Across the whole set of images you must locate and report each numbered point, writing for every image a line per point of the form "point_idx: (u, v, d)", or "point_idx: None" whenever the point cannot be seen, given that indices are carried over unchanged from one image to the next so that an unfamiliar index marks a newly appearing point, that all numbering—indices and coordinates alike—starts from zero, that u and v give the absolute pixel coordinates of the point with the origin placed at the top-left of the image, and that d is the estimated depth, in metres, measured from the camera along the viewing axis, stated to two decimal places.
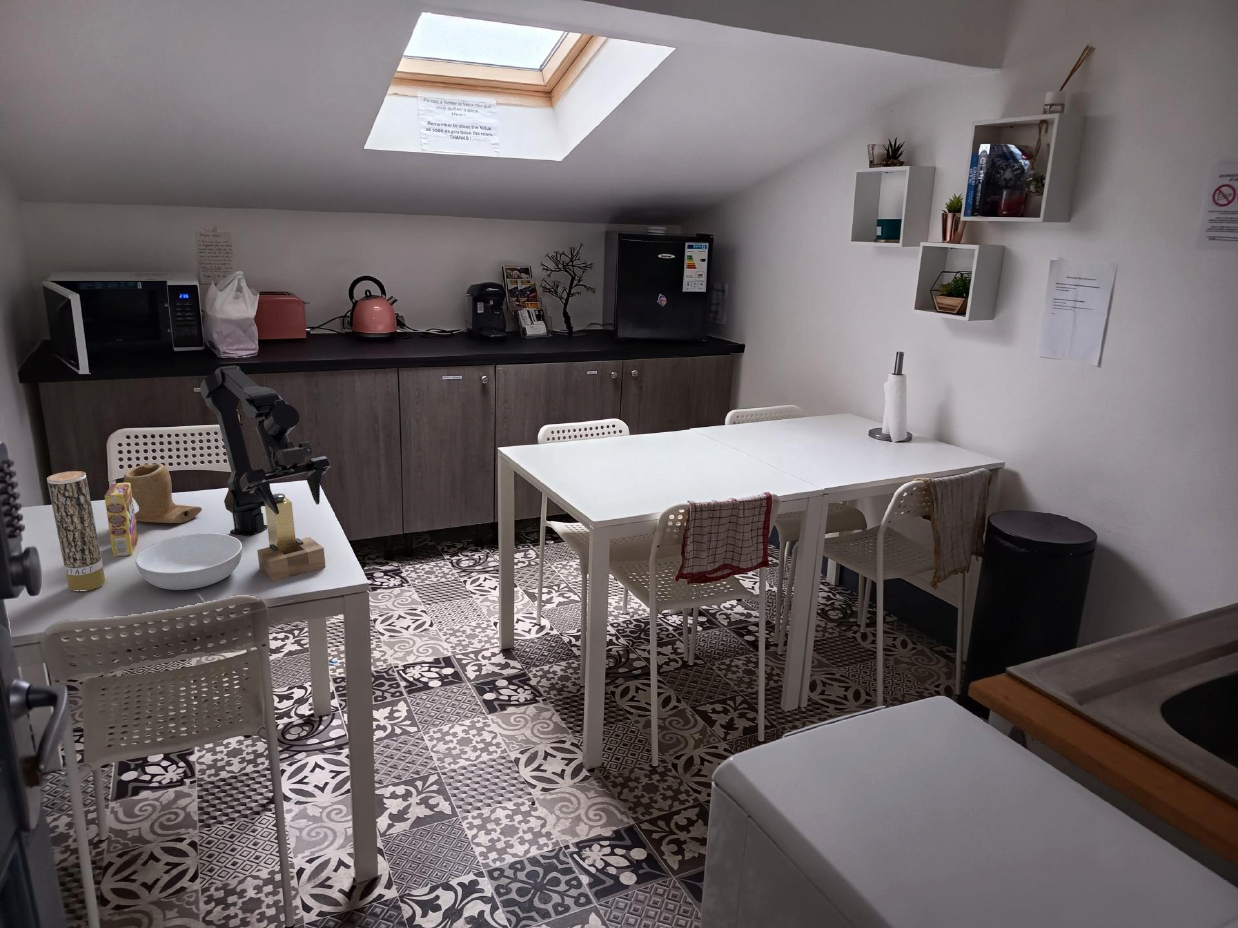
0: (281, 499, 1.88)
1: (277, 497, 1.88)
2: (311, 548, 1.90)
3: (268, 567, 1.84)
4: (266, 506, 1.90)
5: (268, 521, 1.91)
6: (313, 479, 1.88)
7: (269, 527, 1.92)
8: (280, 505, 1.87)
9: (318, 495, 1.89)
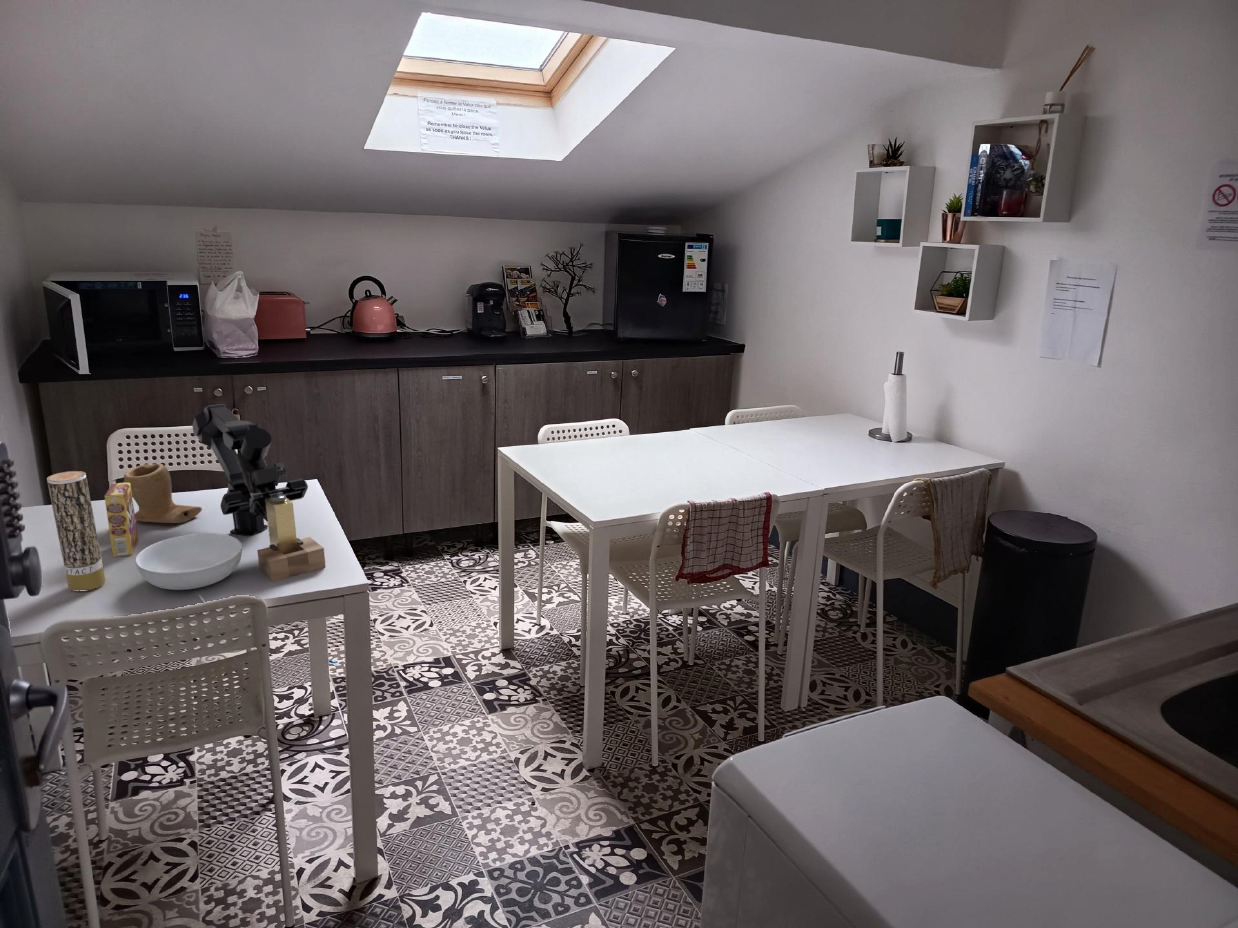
0: (282, 500, 1.88)
1: (278, 497, 1.88)
2: (311, 548, 1.90)
3: (268, 567, 1.84)
4: (267, 507, 1.90)
5: (269, 522, 1.91)
6: None
7: (270, 527, 1.91)
8: (281, 506, 1.87)
9: None
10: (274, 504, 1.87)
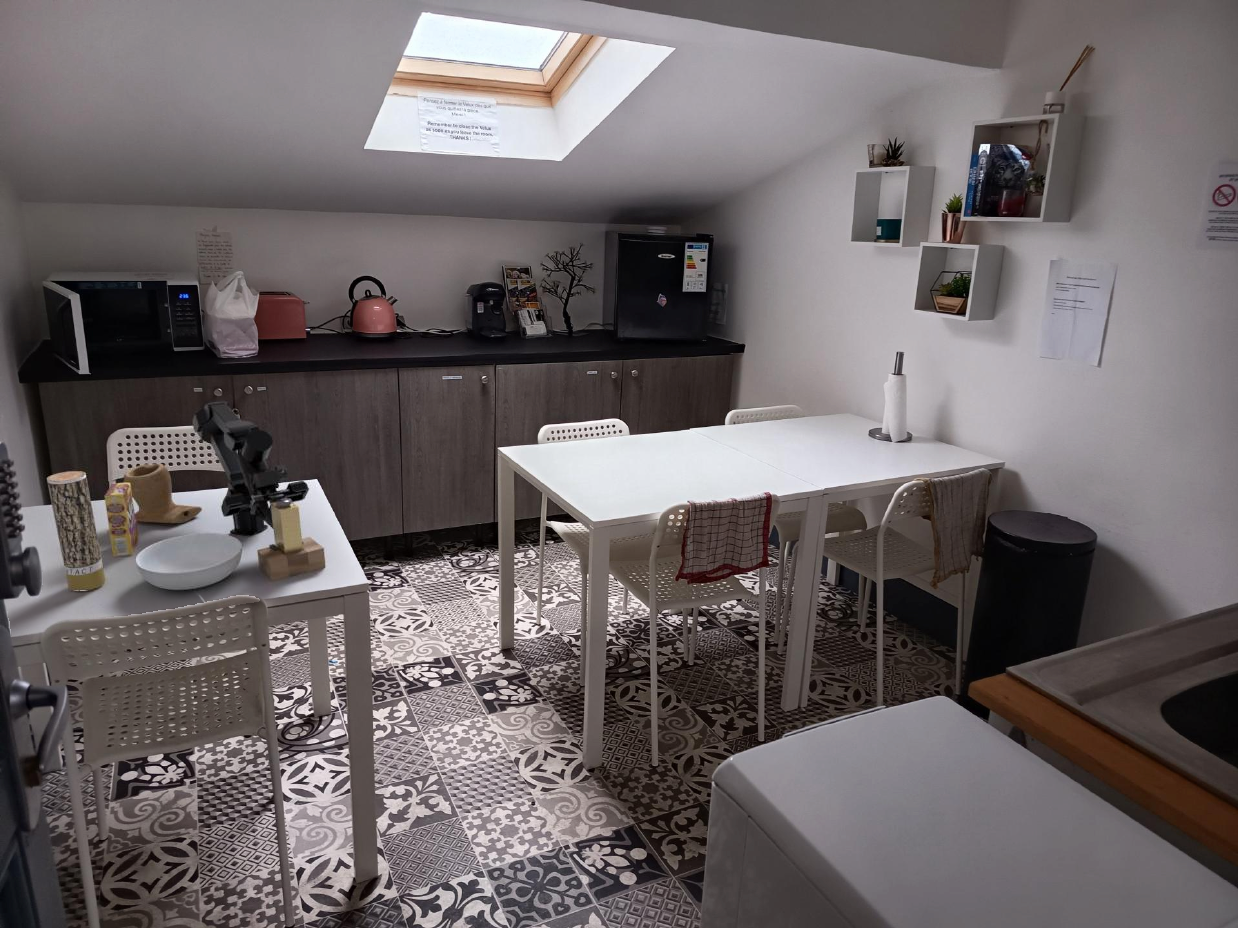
0: (288, 504, 1.86)
1: (284, 502, 1.86)
2: (311, 548, 1.90)
3: (268, 567, 1.84)
4: (272, 511, 1.87)
5: (274, 526, 1.88)
6: None
7: (275, 532, 1.89)
8: (287, 510, 1.84)
9: None
10: (280, 508, 1.84)
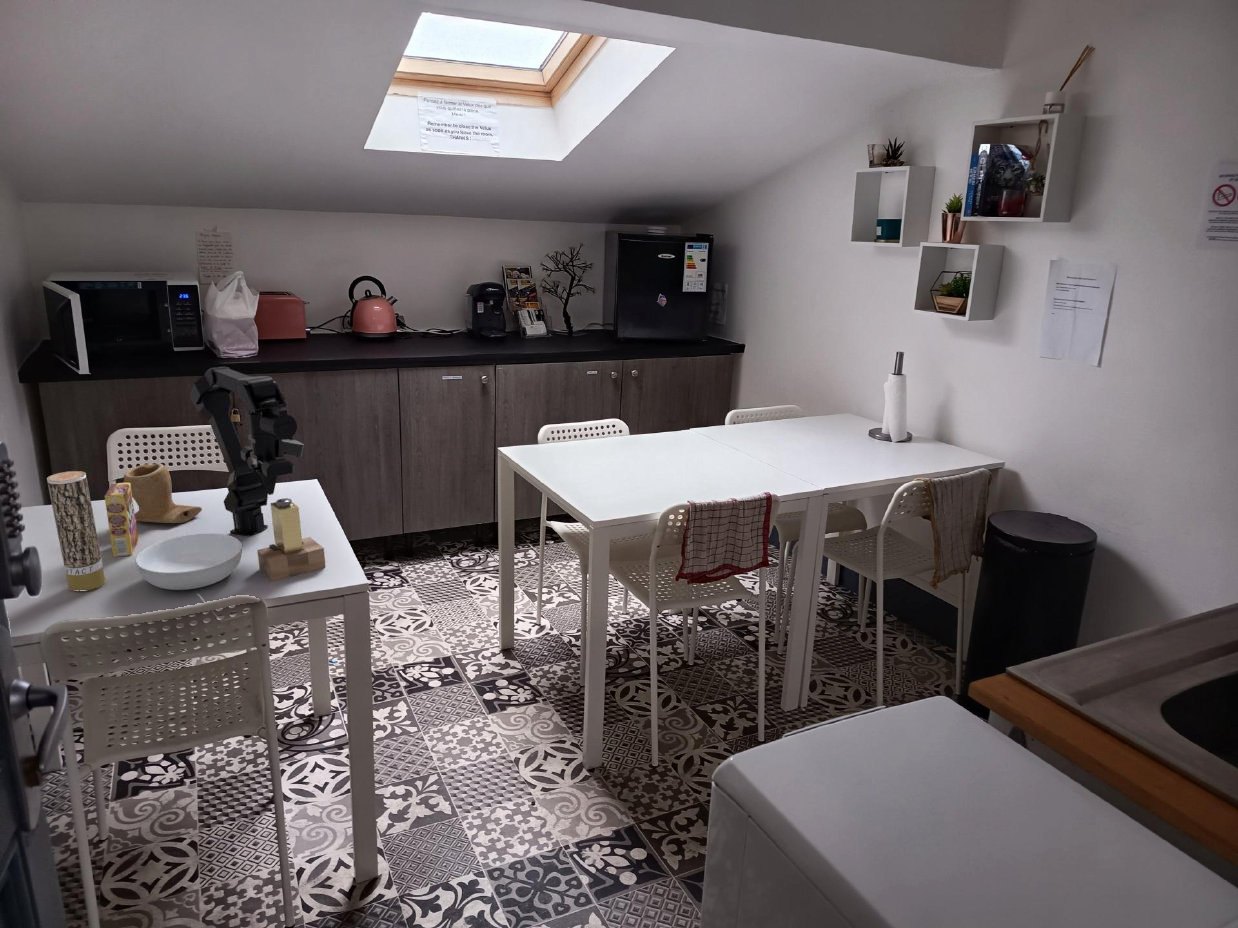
0: (288, 504, 1.86)
1: (284, 502, 1.86)
2: (311, 548, 1.90)
3: (268, 567, 1.84)
4: (272, 511, 1.87)
5: (274, 526, 1.88)
6: None
7: (275, 532, 1.89)
8: (287, 510, 1.84)
9: None
10: (280, 508, 1.84)
